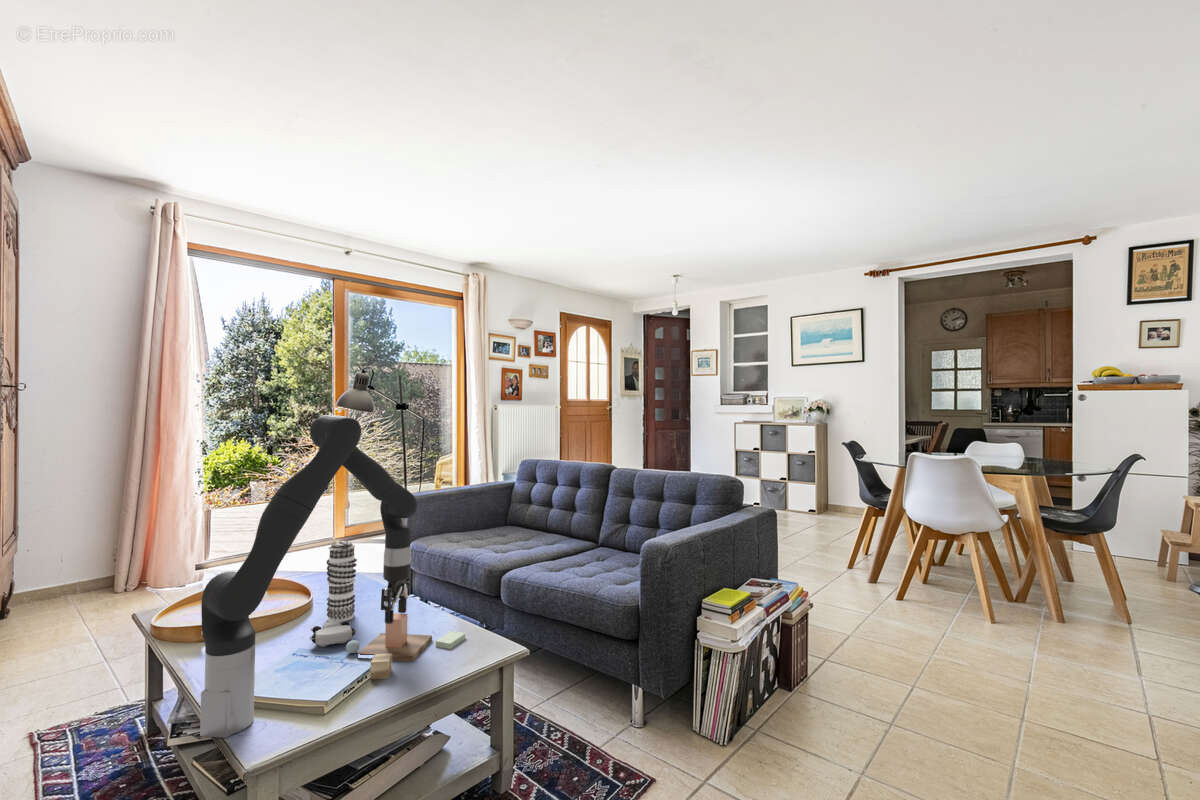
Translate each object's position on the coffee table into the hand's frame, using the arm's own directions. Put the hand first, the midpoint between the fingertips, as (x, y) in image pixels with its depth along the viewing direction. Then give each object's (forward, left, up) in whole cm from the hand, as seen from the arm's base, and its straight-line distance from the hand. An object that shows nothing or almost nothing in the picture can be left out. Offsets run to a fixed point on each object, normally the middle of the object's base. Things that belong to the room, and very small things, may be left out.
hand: (395, 617), depth 161 cm
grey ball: (-4, +11, -7) cm, 14 cm away
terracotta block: (0, 0, -8) cm, 8 cm away
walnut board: (0, 0, -9) cm, 9 cm away
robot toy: (+4, +22, -10) cm, 24 cm away
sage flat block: (+7, -14, -10) cm, 18 cm away
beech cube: (-15, -3, -9) cm, 18 cm away
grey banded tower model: (+21, +29, -9) cm, 37 cm away
